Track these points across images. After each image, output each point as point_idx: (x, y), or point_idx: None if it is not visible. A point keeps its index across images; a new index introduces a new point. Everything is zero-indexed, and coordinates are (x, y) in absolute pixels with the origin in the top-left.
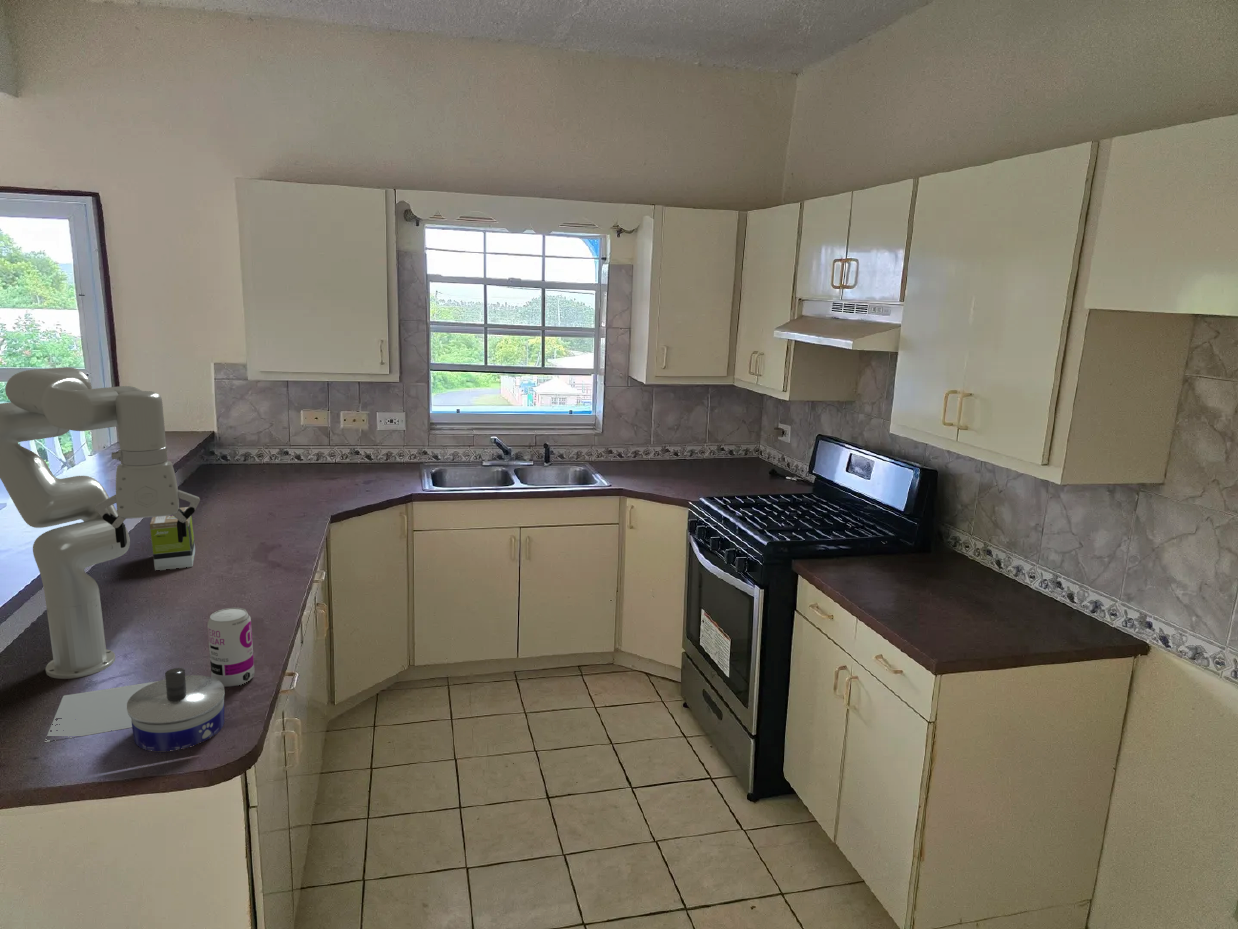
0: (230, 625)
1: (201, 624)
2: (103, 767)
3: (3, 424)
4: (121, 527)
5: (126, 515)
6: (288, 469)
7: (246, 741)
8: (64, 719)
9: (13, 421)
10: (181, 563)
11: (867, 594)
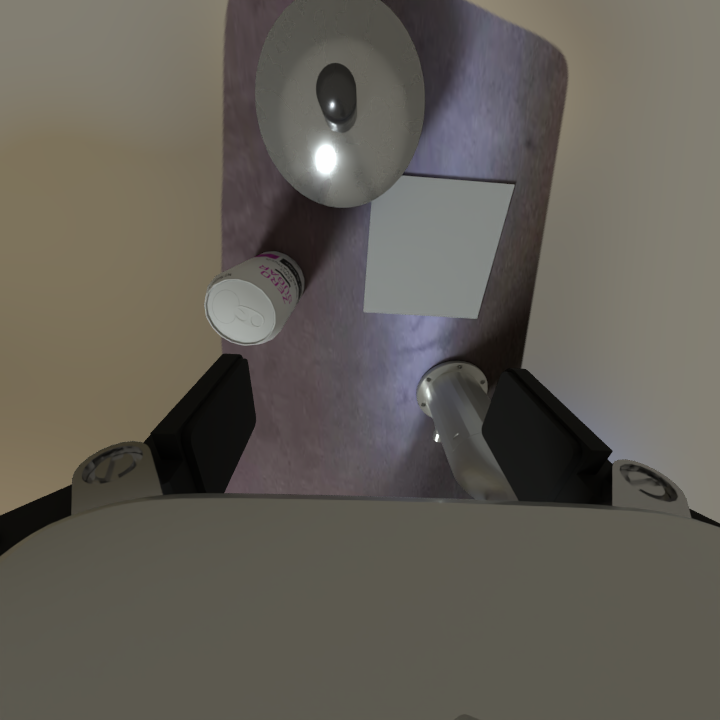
0: (235, 273)
1: (325, 443)
2: (452, 47)
3: None
4: (587, 462)
5: (715, 546)
6: None
7: (235, 20)
8: (483, 247)
9: None
10: None
11: None
